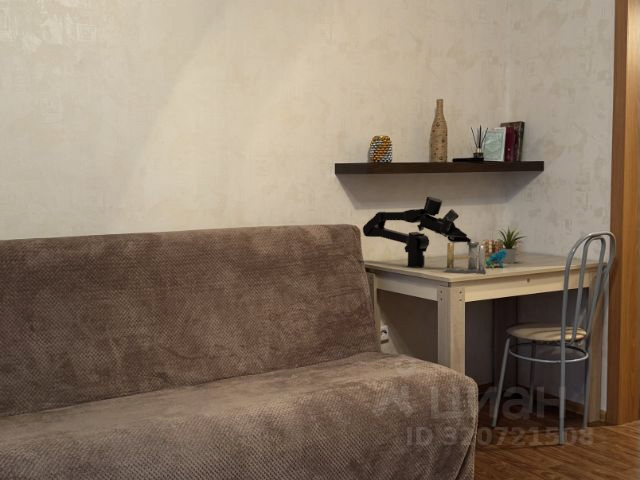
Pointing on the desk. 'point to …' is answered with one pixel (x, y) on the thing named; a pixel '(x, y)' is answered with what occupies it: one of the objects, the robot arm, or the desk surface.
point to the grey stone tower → (473, 253)
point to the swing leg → (451, 256)
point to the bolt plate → (463, 271)
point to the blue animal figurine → (496, 258)
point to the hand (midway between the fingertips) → (468, 238)
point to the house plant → (510, 246)
